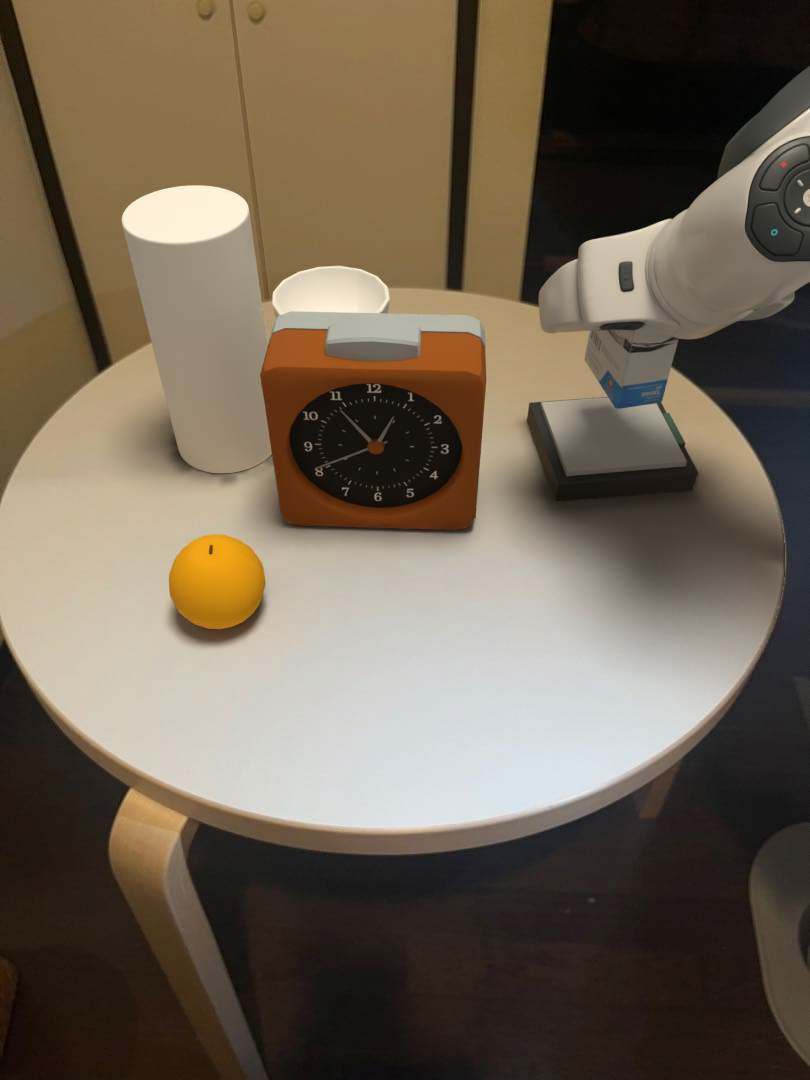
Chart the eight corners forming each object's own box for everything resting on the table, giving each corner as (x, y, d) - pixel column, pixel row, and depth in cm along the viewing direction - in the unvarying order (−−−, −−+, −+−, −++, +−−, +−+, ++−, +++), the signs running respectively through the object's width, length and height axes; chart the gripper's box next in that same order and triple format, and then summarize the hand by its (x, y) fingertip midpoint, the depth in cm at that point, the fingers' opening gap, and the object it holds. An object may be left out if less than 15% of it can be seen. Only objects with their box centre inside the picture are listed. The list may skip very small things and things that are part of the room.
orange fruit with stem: (162, 634, 73) (143, 575, 68) (198, 567, 79) (182, 508, 73) (251, 651, 72) (238, 593, 67) (281, 581, 77) (272, 522, 72)
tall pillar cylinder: (300, 435, 92) (274, 208, 74) (225, 488, 86) (177, 255, 68) (232, 396, 96) (192, 173, 78) (156, 444, 91) (94, 215, 73)
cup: (260, 394, 97) (247, 307, 89) (320, 340, 104) (313, 255, 96) (355, 428, 92) (350, 339, 84) (410, 369, 100) (411, 282, 92)
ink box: (664, 404, 80) (695, 290, 72) (614, 411, 80) (639, 296, 71) (628, 353, 86) (653, 242, 78) (581, 359, 85) (601, 247, 77)
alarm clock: (280, 528, 82) (252, 343, 67) (293, 467, 88) (269, 285, 73) (474, 533, 82) (489, 348, 67) (473, 472, 88) (487, 289, 73)
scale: (651, 410, 95) (657, 387, 92) (693, 490, 86) (700, 467, 83) (526, 420, 93) (529, 397, 91) (555, 502, 85) (559, 478, 82)
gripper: (824, 227, 66) (739, 278, 80) (562, 241, 64) (521, 291, 78) (830, 309, 66) (744, 346, 80) (569, 326, 64) (527, 361, 78)
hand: (632, 319), depth 79 cm, fingers closed on ink box, 5 cm apart
